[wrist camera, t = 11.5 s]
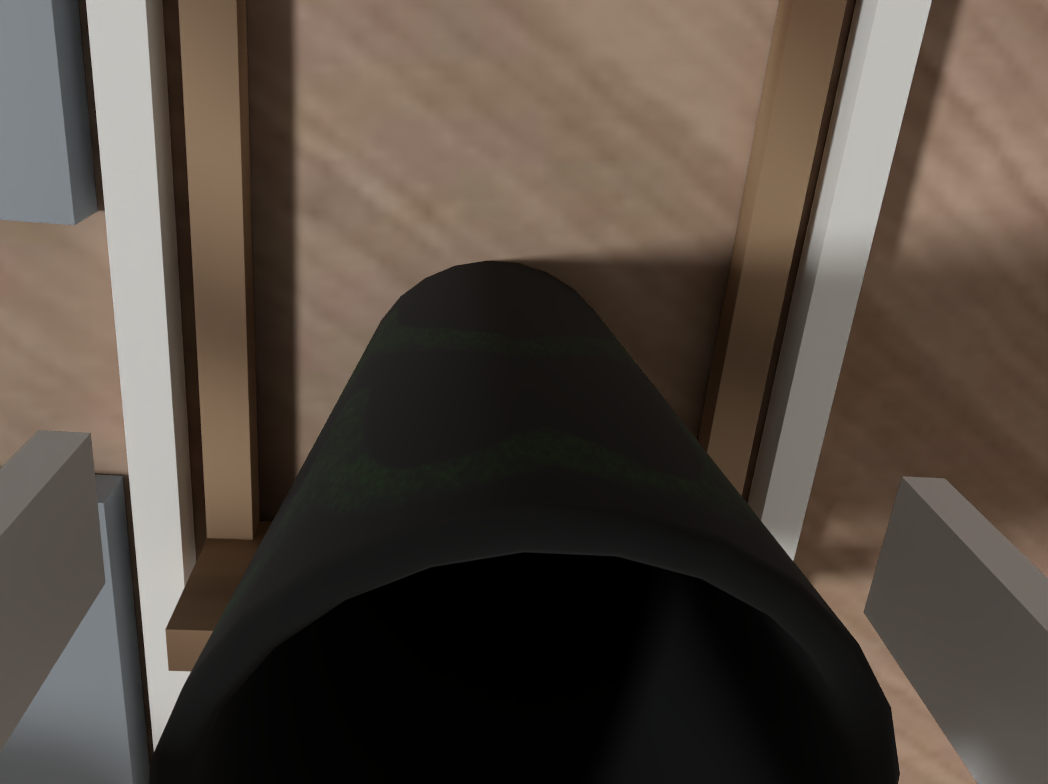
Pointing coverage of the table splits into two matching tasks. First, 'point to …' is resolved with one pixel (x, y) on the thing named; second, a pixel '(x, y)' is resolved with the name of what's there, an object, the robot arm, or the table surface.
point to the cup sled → (228, 290)
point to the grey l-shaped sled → (44, 114)
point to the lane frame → (160, 392)
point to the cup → (520, 583)
